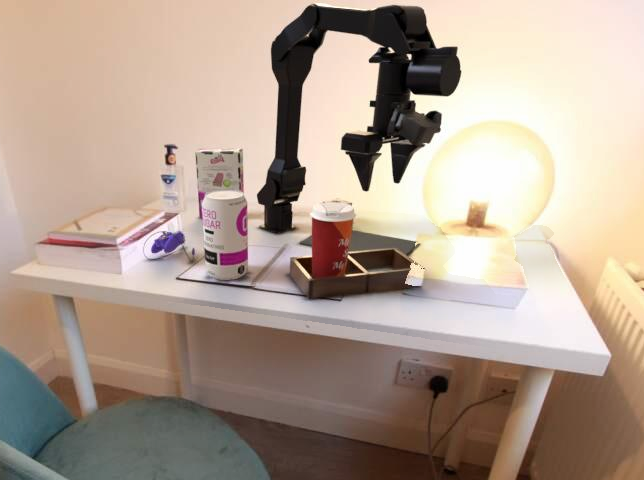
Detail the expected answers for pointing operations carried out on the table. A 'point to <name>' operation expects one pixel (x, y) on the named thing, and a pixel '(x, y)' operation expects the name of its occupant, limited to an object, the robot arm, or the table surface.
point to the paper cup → (331, 238)
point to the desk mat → (373, 242)
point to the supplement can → (225, 234)
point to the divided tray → (354, 274)
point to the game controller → (168, 243)
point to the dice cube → (339, 201)
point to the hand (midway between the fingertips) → (381, 187)
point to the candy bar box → (218, 171)
